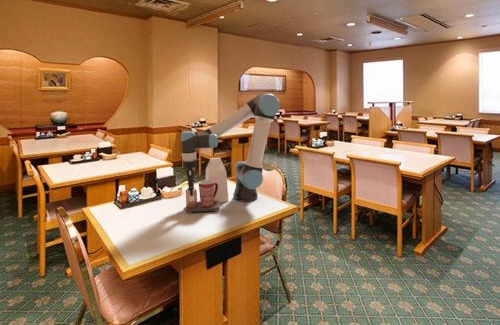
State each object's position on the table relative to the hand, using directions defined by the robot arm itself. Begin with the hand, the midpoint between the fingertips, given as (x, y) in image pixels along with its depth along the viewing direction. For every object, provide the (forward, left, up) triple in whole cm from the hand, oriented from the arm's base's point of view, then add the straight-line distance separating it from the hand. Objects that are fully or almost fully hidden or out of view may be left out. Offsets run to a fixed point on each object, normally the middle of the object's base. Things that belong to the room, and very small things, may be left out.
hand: (192, 197), depth 181 cm
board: (-6, 0, -7) cm, 9 cm away
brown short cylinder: (0, 0, -5) cm, 5 cm away
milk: (-15, -16, -8) cm, 23 cm away
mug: (-10, -1, -5) cm, 11 cm away
